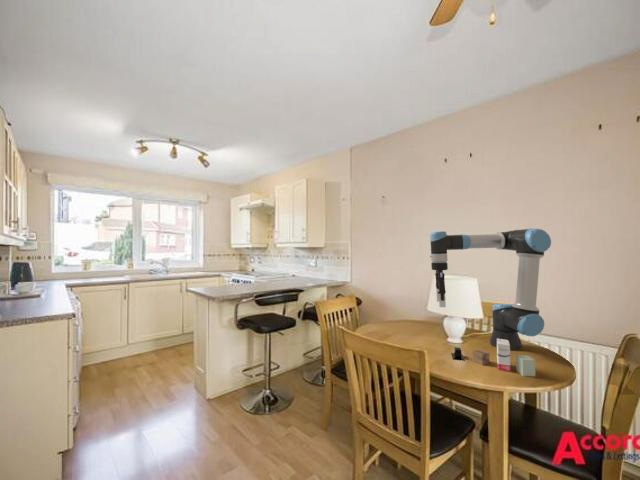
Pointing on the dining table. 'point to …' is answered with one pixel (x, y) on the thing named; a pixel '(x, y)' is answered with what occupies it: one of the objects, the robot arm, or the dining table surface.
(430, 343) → the dining table surface
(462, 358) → the black bracket plate
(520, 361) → the sage block
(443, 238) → the robot arm
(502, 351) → the ink box
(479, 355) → the walnut cube
